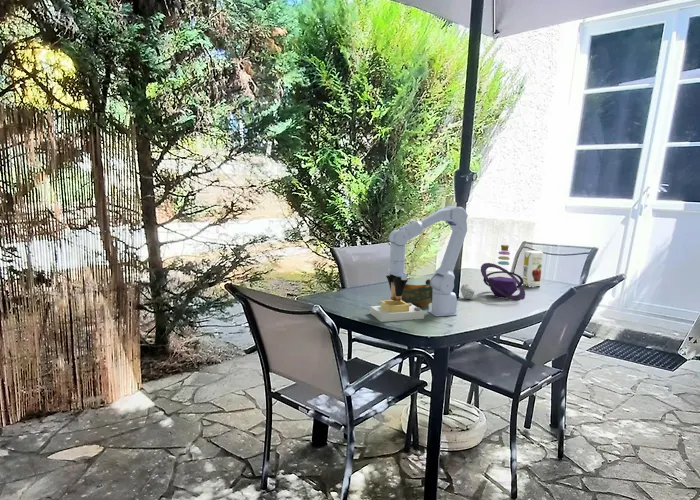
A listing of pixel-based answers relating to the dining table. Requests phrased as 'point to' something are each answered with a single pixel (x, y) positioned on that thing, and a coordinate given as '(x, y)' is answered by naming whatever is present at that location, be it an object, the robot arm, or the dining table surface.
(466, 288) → the white bumpy ball
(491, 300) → the dining table surface
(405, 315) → the tray with yellow box
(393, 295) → the copper can
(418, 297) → the green brown bowl
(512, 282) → the decorative bottle
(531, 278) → the juice carton
